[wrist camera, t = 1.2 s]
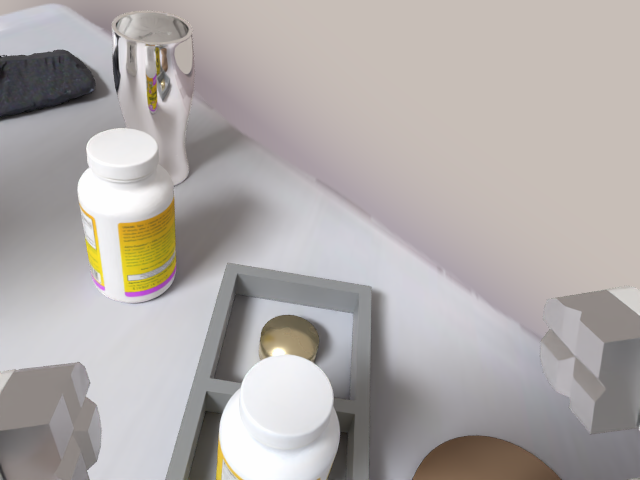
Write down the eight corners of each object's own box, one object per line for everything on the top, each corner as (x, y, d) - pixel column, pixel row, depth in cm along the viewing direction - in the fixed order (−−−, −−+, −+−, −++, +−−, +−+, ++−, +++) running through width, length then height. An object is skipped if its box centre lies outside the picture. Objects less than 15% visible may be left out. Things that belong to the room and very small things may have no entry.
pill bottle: (283, 429, 40) (307, 322, 32) (337, 511, 36) (378, 413, 28) (196, 475, 36) (198, 369, 28) (246, 571, 33) (264, 480, 25)
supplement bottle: (190, 262, 50) (190, 136, 41) (152, 317, 45) (143, 187, 36) (119, 239, 50) (106, 110, 42) (74, 290, 45) (48, 156, 37)
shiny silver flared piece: (120, 191, 55) (105, 41, 45) (124, 149, 60) (112, 6, 50) (194, 192, 57) (195, 47, 47) (193, 151, 62) (194, 13, 52)
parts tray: (357, 616, 32) (366, 602, 30) (141, 586, 31) (139, 570, 30) (365, 306, 49) (371, 286, 47) (225, 283, 48) (227, 262, 47)
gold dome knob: (248, 342, 45) (250, 326, 43) (296, 323, 47) (300, 307, 45) (276, 386, 42) (279, 371, 41) (325, 364, 44) (330, 348, 43)
